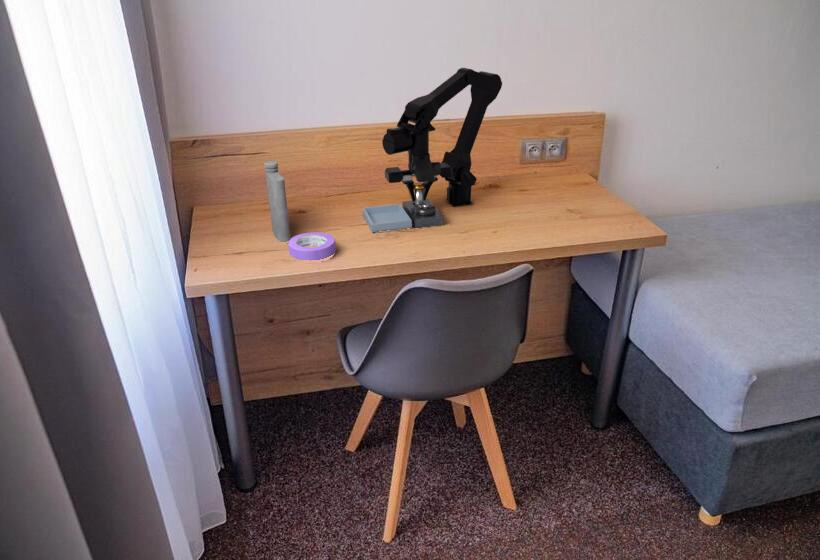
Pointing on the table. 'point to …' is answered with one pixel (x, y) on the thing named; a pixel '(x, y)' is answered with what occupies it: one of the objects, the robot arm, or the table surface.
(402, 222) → the tray
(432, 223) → the grey holder base
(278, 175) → the hip flask
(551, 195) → the table surface
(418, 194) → the lock pin
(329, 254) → the masking tape
